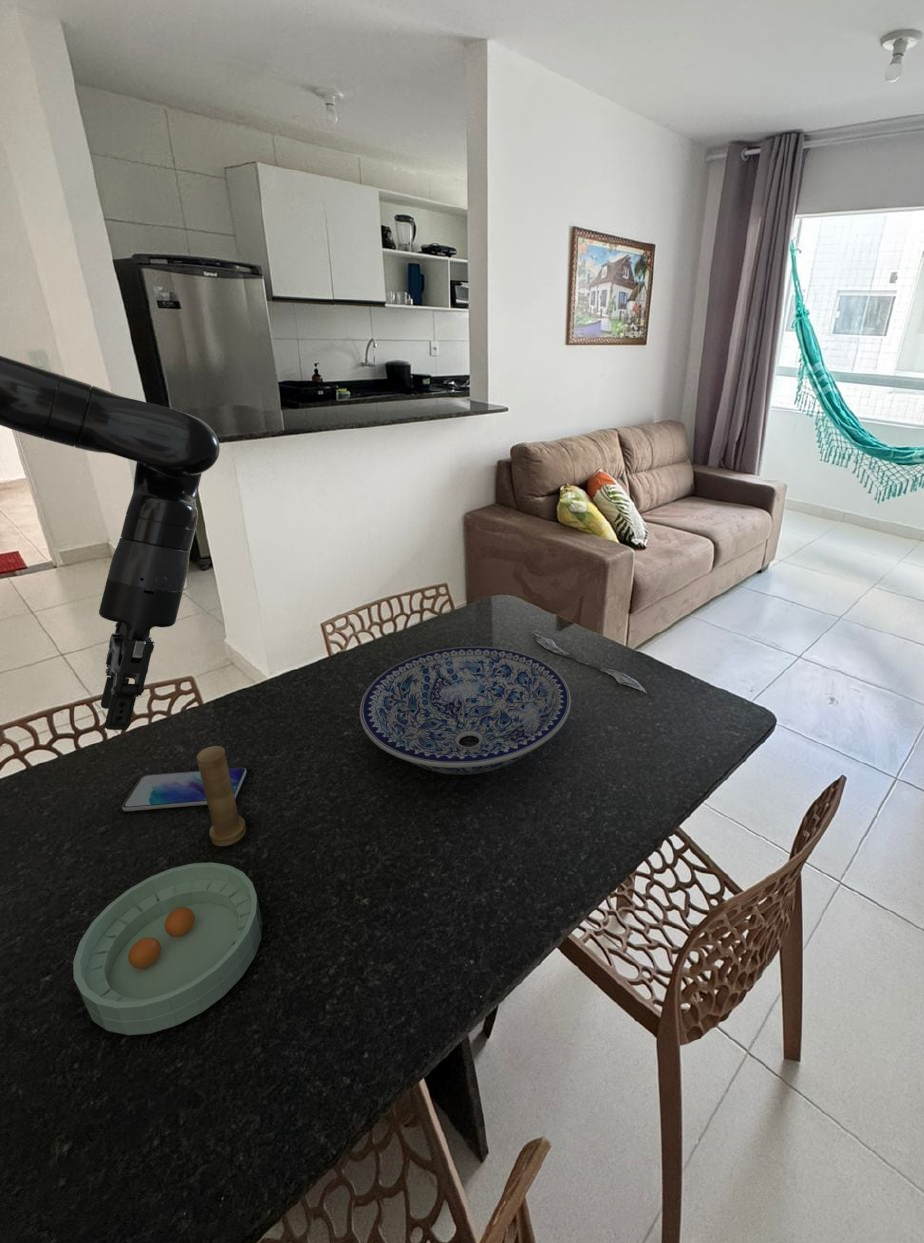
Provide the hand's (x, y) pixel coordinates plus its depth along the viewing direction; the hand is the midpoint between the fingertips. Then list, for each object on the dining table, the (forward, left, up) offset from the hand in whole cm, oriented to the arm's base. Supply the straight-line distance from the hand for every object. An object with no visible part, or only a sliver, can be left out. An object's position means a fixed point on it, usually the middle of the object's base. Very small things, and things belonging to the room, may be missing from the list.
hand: (113, 718), depth 73 cm
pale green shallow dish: (+14, -7, -23) cm, 28 cm away
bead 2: (+12, -5, -21) cm, 25 cm away
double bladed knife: (+31, +73, -23) cm, 83 cm away
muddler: (+4, +8, -23) cm, 25 cm away
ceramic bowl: (+23, +40, -24) cm, 52 cm away
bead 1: (+12, -9, -21) cm, 26 cm away
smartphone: (-8, +11, -24) cm, 27 cm away
